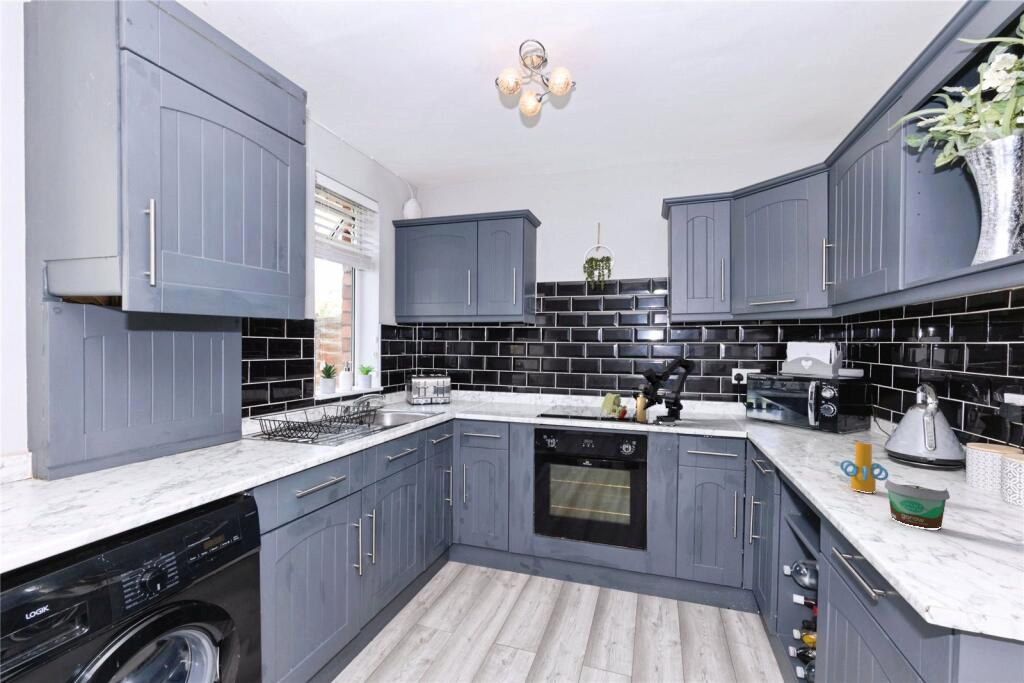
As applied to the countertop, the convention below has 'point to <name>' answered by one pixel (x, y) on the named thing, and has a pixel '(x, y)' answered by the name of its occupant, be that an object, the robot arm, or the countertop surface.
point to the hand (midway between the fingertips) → (639, 409)
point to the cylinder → (863, 468)
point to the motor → (664, 420)
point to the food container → (917, 504)
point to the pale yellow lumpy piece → (614, 406)
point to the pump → (641, 408)
